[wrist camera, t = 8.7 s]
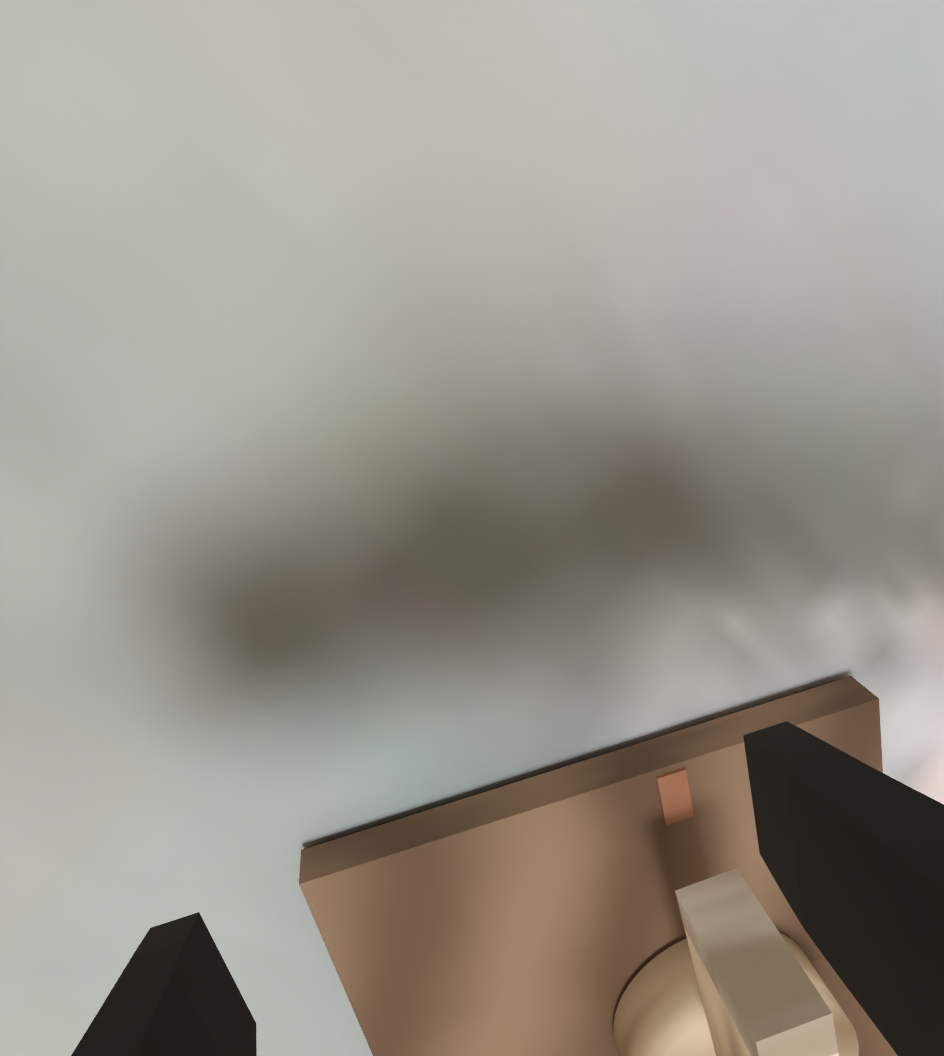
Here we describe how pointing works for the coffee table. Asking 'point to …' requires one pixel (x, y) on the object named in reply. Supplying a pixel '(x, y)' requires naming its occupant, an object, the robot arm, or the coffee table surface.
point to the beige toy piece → (730, 987)
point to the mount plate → (560, 889)
